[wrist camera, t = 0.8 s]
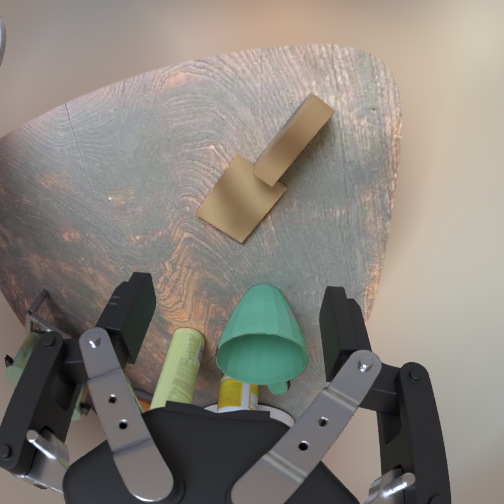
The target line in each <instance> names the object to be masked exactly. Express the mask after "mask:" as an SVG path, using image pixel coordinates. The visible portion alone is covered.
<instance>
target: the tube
mask: <svg viewBox="0 0 504 504" xmlns="http://www.w3.org/2000/svg"><path fill="white" fill-rule="evenodd" d="M204 344H205V339H204V337H203V336H202V335H201V334H200V333H199V332H198V331H196V330H194V329H190V328H180V329H177V330H176V331H175V332H174V334H173V337H172V340H171V343H170V346H169V349H168V352H167V356H166V359H165V362H164V365H163V368H162V371H161V374H160V378H159V381H158V384H157V387H156V390H155V393H154V396H153V399H152V403H151V406H150V409H149V410H151V409H154V408H158V407H165V404H166V400H169V401H175V402H182V403H189V404H191V403H192V398H193V394H194V389H195V385H196V380H197V376H198V371H199V367H200V362H201V358H202V353H203V349H204Z"/></svg>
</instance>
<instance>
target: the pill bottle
mask: <svg viewBox="0 0 504 504" xmlns="http://www.w3.org/2000/svg"><path fill="white" fill-rule="evenodd" d="M244 409H245V410H257V409H258V385H255V384H247V383H244V382H241V381H237V380H235V379H233V378H231V377H229V376H228V375H226V374H225V373H224V372H223V373H222V376H221V382H220V389H219V397H218V404H217V412H216V413H222V412H230V411H237V410H244Z"/></svg>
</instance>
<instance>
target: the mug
mask: <svg viewBox="0 0 504 504" xmlns="http://www.w3.org/2000/svg"><path fill="white" fill-rule="evenodd" d="M215 361H216V363H217V365H218V367H219V368H220V369H221V370H222V371H223V372H224V373H225V374H226V375H228V376H229V377H231V378H233V379H235V380H237V381H241V382H244V383H247V384H255V385H267V386H268V388H269V390H270V391H271V393H272V394H275V395H280V394H284V393H286V392H287V391H288V390H289V387H290V379H293V378H295V377H296V376H298V375H299V374H300V373H301V372H302V371H304V369H305V367H306V365H307V363H308V356H307V347H306V344H305V341H304V338H303V335H302V331H301V329H300V326H299V324H298V322H297V319H296V317H295V315H294V313H293V311H292V309H291V307H290V306H289V304H288V302H287V301H286V299H285V297H284V296H283V294H282V293H281V291H280V290H279V289H277V288H276V287H274V286H272V285H268V284H258V285H255V286H253V287H251V288H250V289H249V290H248V291H247V292H246V293H245V295H244V296H243V297H242V299H241V300H240V302H239V303H238V305H237V307H236V308H235V310H234V312H233V313H232V315H231V317H230V318H229V320H228V322H227V325H226V327H225V329H224V331H223V333H222V336H221V338H220V340H219V343H218V346H217V349H216V356H215Z"/></svg>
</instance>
